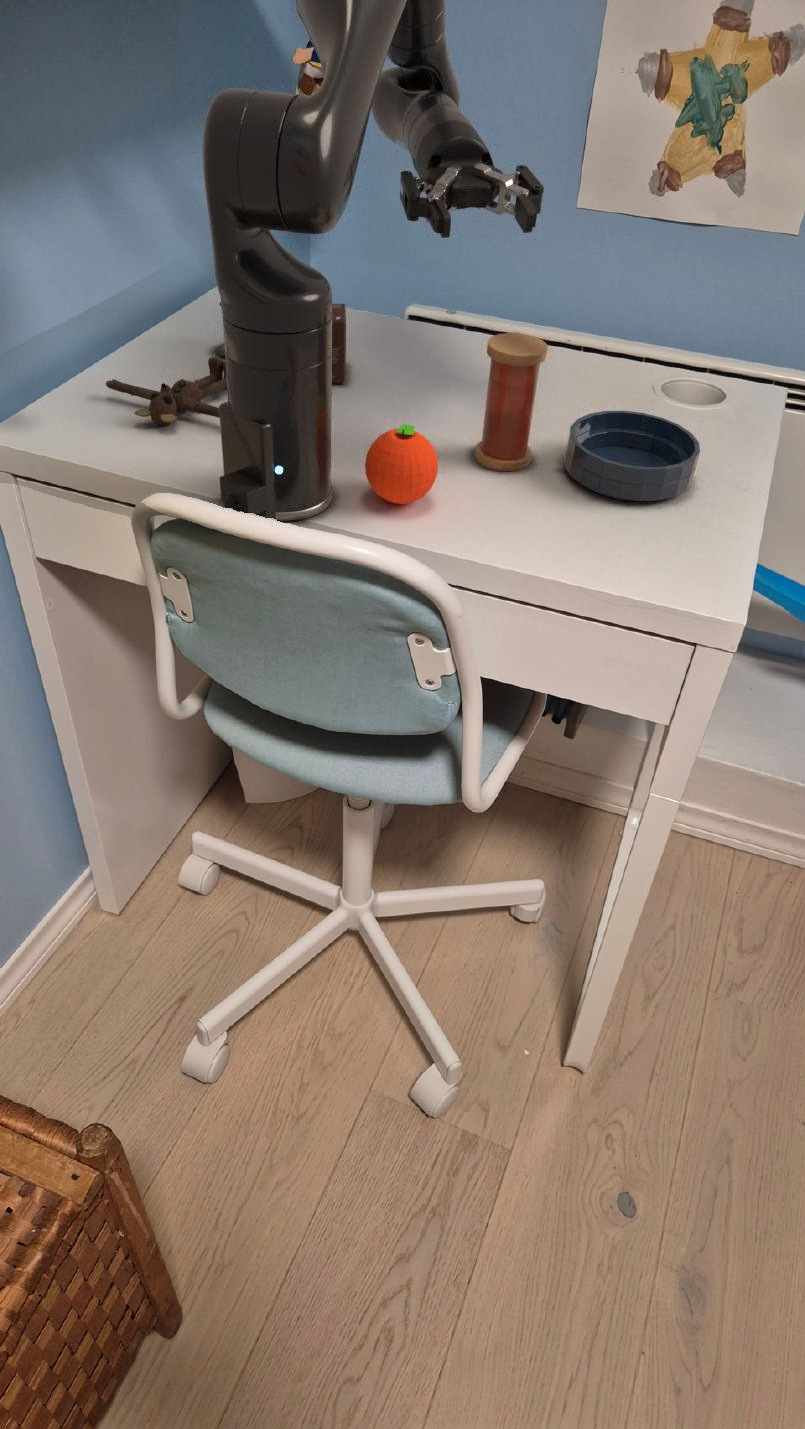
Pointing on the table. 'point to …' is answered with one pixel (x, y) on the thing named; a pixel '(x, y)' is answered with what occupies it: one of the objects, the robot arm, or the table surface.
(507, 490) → the table surface
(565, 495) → the table surface
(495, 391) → the spool
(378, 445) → the clementine
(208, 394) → the bear figurine
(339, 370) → the box
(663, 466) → the bowl
